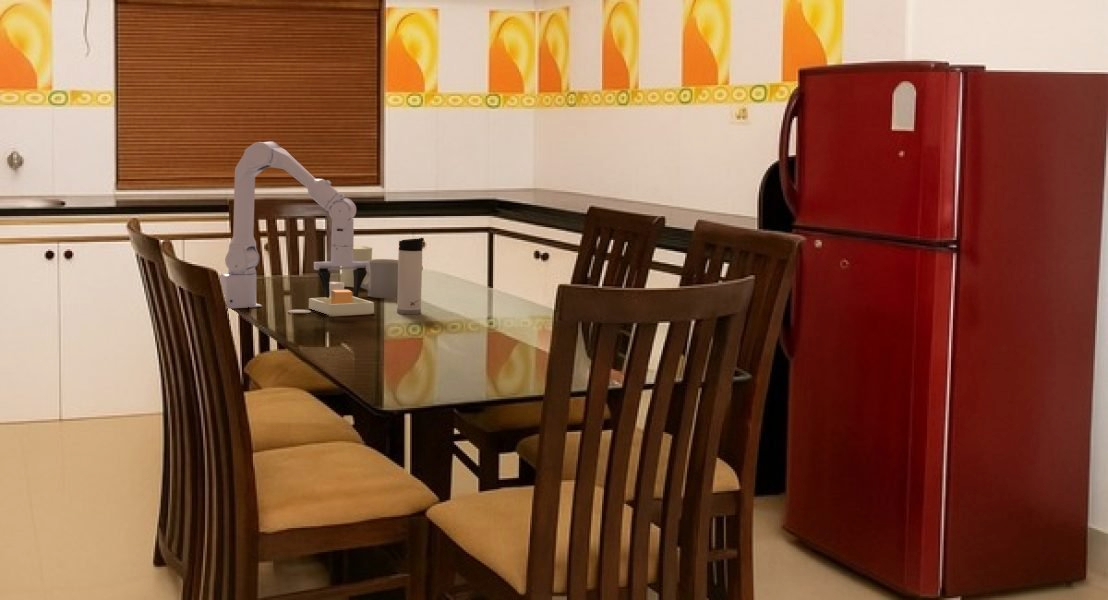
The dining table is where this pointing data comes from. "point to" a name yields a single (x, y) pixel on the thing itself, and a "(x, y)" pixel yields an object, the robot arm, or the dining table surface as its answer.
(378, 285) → the coffee mug
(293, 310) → the grey flat disc
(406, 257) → the travel mug
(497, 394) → the dining table surface
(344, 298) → the block
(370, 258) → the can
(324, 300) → the tray
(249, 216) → the robot arm
